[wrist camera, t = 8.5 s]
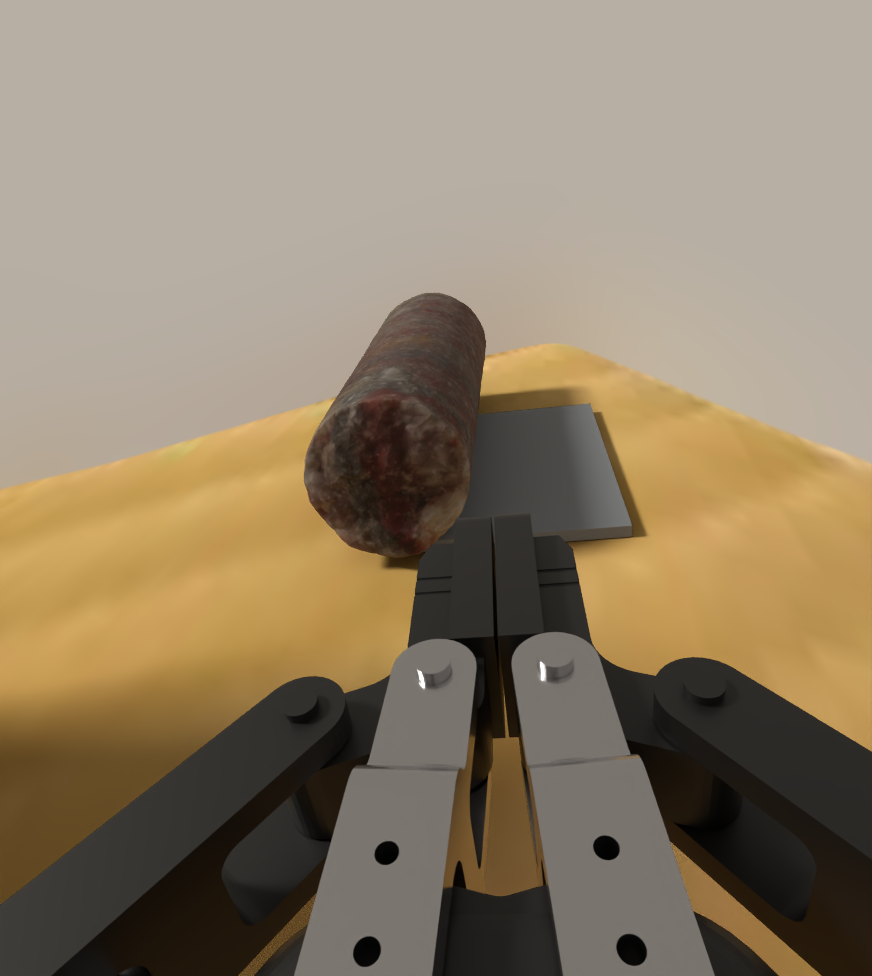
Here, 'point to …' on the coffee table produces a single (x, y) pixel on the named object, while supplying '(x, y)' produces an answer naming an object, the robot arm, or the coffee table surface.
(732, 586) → the coffee table surface
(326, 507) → the reddish brown cylinder
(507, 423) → the mat
